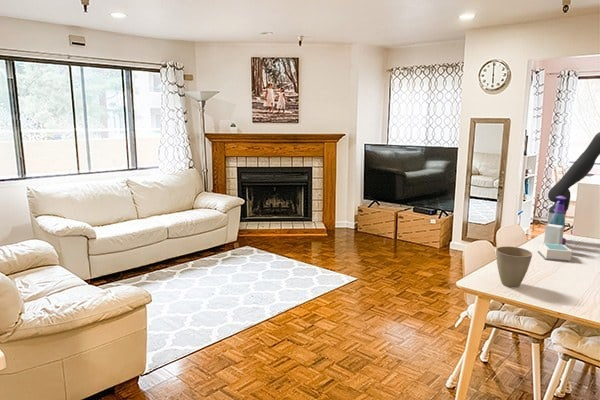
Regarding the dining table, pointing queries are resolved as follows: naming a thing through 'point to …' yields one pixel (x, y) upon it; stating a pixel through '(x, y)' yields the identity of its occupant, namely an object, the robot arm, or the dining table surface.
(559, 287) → the dining table surface
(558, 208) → the lantern
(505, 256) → the plant pot
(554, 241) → the skincare box
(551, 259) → the mat
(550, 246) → the block
